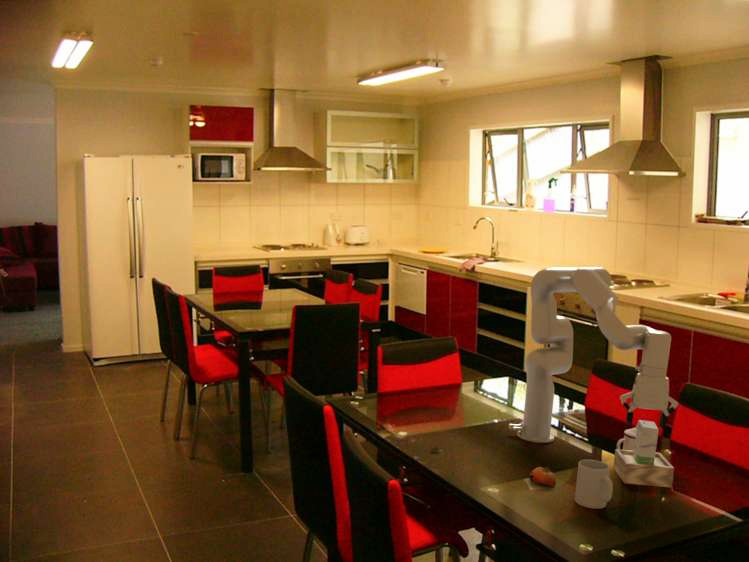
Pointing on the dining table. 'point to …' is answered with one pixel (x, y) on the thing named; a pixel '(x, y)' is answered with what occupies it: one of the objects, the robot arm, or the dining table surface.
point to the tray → (643, 470)
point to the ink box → (645, 442)
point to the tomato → (543, 476)
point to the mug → (593, 484)
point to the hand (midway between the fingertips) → (645, 425)
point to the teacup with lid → (628, 439)
